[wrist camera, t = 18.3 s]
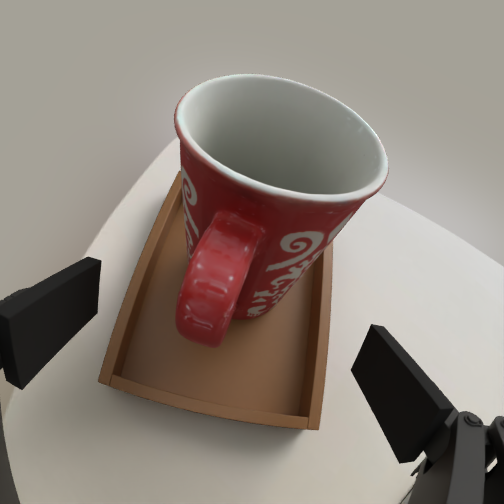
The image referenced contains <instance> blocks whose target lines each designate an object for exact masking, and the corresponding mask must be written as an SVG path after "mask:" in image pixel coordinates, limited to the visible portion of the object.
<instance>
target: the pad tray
mask: <svg viewBox="0 0 504 504" xmlns="http://www.w3.org/2000/svg"><path fill="white" fill-rule="evenodd" d="M332 261H333V241H332V242H331V243H330V244H329V245H328V246H327V247H326V249H325V250H324V251H323V252H322V253H321V254H320V255H319V256H318V257H317V259H316V260H315V261H314V262H313V263H312V264H311V266H310V267H309V268H308V269H307V270H306V272H305V273H304V274H303V275H302V276H301V277H300V278H299V280H298V281H297V282H296V283H295V284H294V285H293V286H292V287H291V288H290V289H289V291H288V292H287V293H286V294H285V295H284V297H283V298H282V299H281V300H280V301H279V302H278V303H277V304H276V305H275V306H274V307H273V308H272V309H271V310H269V311H268V312H267V313H265V314H263V315H261V316H259V317H256V318H252V319H246V320H236V319H232V320H231V323H230V325H229V328H228V330H227V333H226V335H225V338H224V340H223V342H222V343H221V345H220V346H219V347H217V348H210V347H206V346H203V345H200V344H197V343H195V342H192V341H190V340H188V339H186V338H184V337H183V336H182V335H180V334H179V332H178V330H177V328H176V324H175V311H176V304H177V299H178V293H179V291H180V289H181V285H182V282H183V278H184V276H185V273H186V270H187V267H188V257H187V247H186V236H185V220H184V206H183V199H182V184H181V171H179V172H178V174H177V176H176V178H175V180H174V182H173V184H172V186H171V188H170V190H169V193H168V195H167V197H166V199H165V201H164V203H163V205H162V208H161V210H160V212H159V214H158V216H157V219H156V221H155V223H154V225H153V228H152V230H151V232H150V234H149V237H148V239H147V242H146V244H145V246H144V249H143V251H142V254H141V256H140V258H139V261H138V263H137V266H136V268H135V271H134V274H133V276H132V279H131V281H130V284H129V287H128V289H127V292H126V295H125V298H124V300H123V303H122V306H121V309H120V312H119V314H118V317H117V320H116V323H115V326H114V329H113V332H112V335H111V338H110V342H109V345H108V348H107V351H106V355H105V358H104V361H103V365H102V368H101V372H100V375H99V379H98V382H99V383H102V384H105V385H107V386H110V387H113V388H115V389H118V390H121V391H124V392H127V393H130V394H133V395H136V396H139V397H142V398H145V399H148V400H152V401H155V402H159V403H162V404H166V405H169V406H173V407H177V408H181V409H184V410H188V411H193V412H197V413H201V414H206V415H210V416H215V417H220V418H225V419H230V420H236V421H242V422H248V423H254V424H261V425H268V426H276V427H285V428H295V429H307V430H319V424H320V417H321V410H322V402H323V393H324V384H325V375H326V365H327V354H328V342H329V328H330V312H331V292H332Z"/></svg>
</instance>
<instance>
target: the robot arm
mask: <svg viewBox="0 0 504 504" xmlns="http://www.w3.org/2000/svg"><path fill="white" fill-rule="evenodd" d="M100 270H101V260H98V259H94V258H91V257H86V258H84V259H82V260H80V261H79V262H76V263H75V264H73V265H71V266H69V267H67V268H65V269H63V270H61V271H60V272H58V273H56V274H54V275H52V276H50V277H48V278H47V279H45V280H43V281H41V282H39V283H38V284H36V285H34V286H32V287H31V288H25V289H22V290H18V291H16V292H14V293H13V294H11V295H10V296H7V297H6V298H4V300H1V301H0V369H2V368H3V370H4V374H5V378H6V381H8V382H9V383H11V384H12V385H14V386H16V387H17V388H19V389H21V390H23V389H24V387H25V386H26V385H27V384H28V383H29V382H30V381H31V380H32V379H33V378H34V377H35V376H36V375H37V373H38V372H39V371H40V370H41V369H42V368H43V367H44V366H45V365H46V364H47V363H48V362H49V361H50V360H51V359H52V358H53V357H54V356H55V355H56V354H57V353H58V352H59V351H60V350H61V349H62V348H63V347H64V346H65V345H66V344H67V343H68V342H69V341H70V340H71V339H72V338H73V337H74V336H75V335H76V334H77V333H78V332H79V331H80V330H81V329H82V328H83V327H84V326H85V325H86V324H87V323H88V322H89V321H90V320H91V319H92V318H93V317H94V316H95V315H96V314H97V313H98V296H99V282H100ZM351 372H352V373H353V375H354V377H355V379H356V381H357V383H358V385H359V387H360V388H361V390H362V392H363V394H364V396H365V398H366V400H367V402H368V404H369V405H370V407H371V409H372V411H373V413H374V415H375V417H376V419H377V421H378V423H379V425H380V427H381V428H382V430H383V432H384V434H385V436H386V438H387V440H388V442H389V444H390V446H391V448H392V450H393V452H394V454H395V456H396V458H397V460H398V462H399V464H400V463H407V462H413V461H415V460H416V459H417V457H418V456H419V455H420V454H421V453H422V451H424V452H425V454H426V457H425V459H424V460H423V461H422V462H421V463H420V464H419V465H418V467H417V468H416V469H415V470H414V471H413V472H412V474H411V476H413V475H414V474H415V473H417V472H418V475H417V476H416V481H415V484H414V487H413V490H412V493H411V496H410V498H409V501H408V504H504V417H502V416H498V417H496V418H495V419H494V421H493V422H492V423H491V425H490V426H485V425H483V422H482V420H481V419H480V418H479V417H477V416H476V415H475V414H473V413H470V412H467V411H462V412H460V413H459V412H458V411H457V409H456V408H455V407H454V406H453V405H452V403H451V402H450V401H449V400H448V399H447V397H446V396H444V394H443V393H442V391H441V390H439V388H438V387H437V386H436V384H435V383H434V382H433V381H432V380H431V379H430V378H429V377H428V376H427V375H426V373H425V372H424V371H423V370H422V369H421V368H420V367H419V365H418V364H417V363H416V362H415V361H414V360H413V359H412V357H411V356H410V355H409V354H408V353H407V352H406V351H405V350H404V348H403V347H402V346H401V345H400V344H399V343H398V342H397V341H396V340H395V338H394V337H393V336H392V335H391V334H390V333H389V332H388V331H387V330H386V329H385V327H384V326H378V325H373V324H371V326H370V328H369V331H368V333H367V335H366V338H365V340H364V342H363V344H362V347H361V349H360V351H359V353H358V356H357V358H356V360H355V362H354V364H353V366H352V368H351ZM495 458H497V464H496V465H495V466H494V467H493V468H492V469H491V470H490V471H489V472H488V471H487V467H488V466H489V465H490V464H491V463H492V462H493V461H494V459H495ZM0 504H20V501H19V498H18V495H17V491H16V488H15V484H14V481H13V477H12V473H11V468H10V464H9V459H8V454H7V449H6V443H5V437H4V431H3V423H2V415H1V404H0Z"/></svg>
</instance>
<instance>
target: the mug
mask: <svg viewBox="0 0 504 504" xmlns="http://www.w3.org/2000/svg"><path fill="white" fill-rule="evenodd" d="M174 123H175V129H176V132H177V135H178V137H179V139H180V157H181V184H182V199H183V206H184V220H185V236H186V247H187V257H188V267H187V270H186V273H185V276H184V278H183V282H182V285H181V289H180V291H179V293H178V299H177V304H176V311H175V324H176V328H177V330H178V332H179V334H180V335H182V336H183V337H184V338H186V339H188V340H190V341H192V342H195V343H197V344H200V345H203V346H206V347H210V348H217V347H219V346H220V345H221V343H222V342H223V340H224V338H225V335H226V333H227V330H228V328H229V325H230V323H231V320H232V319H236V320H246V319H252V318H256V317H259V316H261V315H263V314H265V313H267V312H268V311H269V310H271V309H272V308H273V307H274V306H275V305H276V304H277V303H278V302H279V301H280V300H281V299H282V298H283V297H284V295H285V294H286V293H287V292H288V291H289V289H290V288H291V287H292V286H293V285H294V284H295V283H296V282H297V281H298V280H299V278H300V277H301V276H302V275H303V274H304V273H305V272H306V270H307V269H308V268H309V267H310V266H311V264H312V263H313V262H314V261H315V260H316V259H317V257H318V256H319V255H320V254H321V253H322V252H323V251H324V250H325V249H326V247H327V246H328V245H329V244H330V243H331V242H332V241H333V239H334V238H335V237H336V236H337V234H338V233H339V232H340V231H341V230H342V228H343V227H344V226H345V225H346V223H347V222H348V221H349V220H350V219H351V217H352V216H353V215H354V214H355V213H356V211H357V210H358V209H359V208H360V206H361V205H362V204H363V203H364V202H365V200H366V199H368V198H370V197H372V196H373V195H374V194H376V193H377V192H378V191H379V190H380V189H381V188H382V186H383V185H384V183H385V181H386V178H387V176H388V171H389V166H388V158H387V154H386V151H385V149H384V147H383V145H382V143H381V141H380V139H379V138H378V136H377V135H376V133H375V132H374V131H373V130H372V128H371V127H370V126H369V125H368V124H367V123H366V122H365V121H364V120H363V119H362V118H361V117H360V116H359V115H358V114H357V113H355V112H354V111H353V110H352V109H350V108H349V107H347V106H346V105H345V104H343V103H341V102H340V101H338V100H337V99H335V98H333V97H331V96H329V95H328V94H326V93H324V92H321V91H319V90H317V89H315V88H312V87H310V86H307V85H304V84H302V83H298V82H295V81H292V80H288V79H284V78H280V77H274V76H268V75H258V74H237V75H228V76H222V77H217V78H214V79H210V80H208V81H205V82H203V83H200V84H198V85H197V86H195V87H194V88H192V89H191V90H189V91H188V92H187V93H186V94H185V95H184V96H183V97H182V98H181V100H180V101H179V103H178V104H177V107H176V110H175V114H174Z"/></svg>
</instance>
